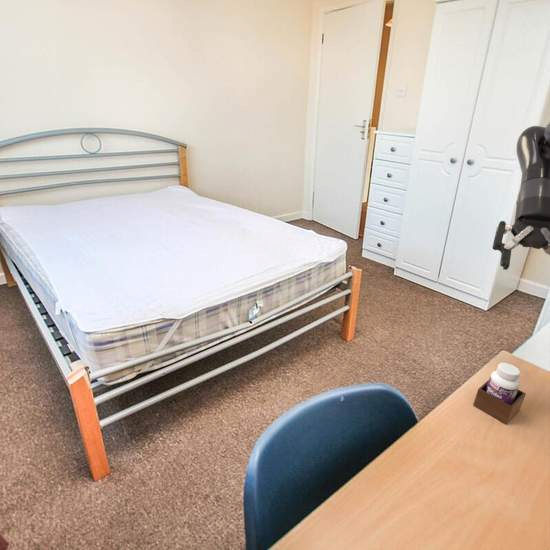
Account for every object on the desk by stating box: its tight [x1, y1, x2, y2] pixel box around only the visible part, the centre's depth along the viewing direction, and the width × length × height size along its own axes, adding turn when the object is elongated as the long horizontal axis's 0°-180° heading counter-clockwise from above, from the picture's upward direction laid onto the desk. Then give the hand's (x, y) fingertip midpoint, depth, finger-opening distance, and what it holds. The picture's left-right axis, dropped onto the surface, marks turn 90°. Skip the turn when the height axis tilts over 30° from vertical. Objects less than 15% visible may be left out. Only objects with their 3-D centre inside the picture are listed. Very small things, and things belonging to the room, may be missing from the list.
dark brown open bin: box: [472, 379, 527, 425], centre depth 81 cm, size 7×7×5 cm
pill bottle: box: [485, 362, 521, 405], centre depth 80 cm, size 5×5×10 cm
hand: (529, 272), depth 78 cm, fingers open, 8 cm apart
